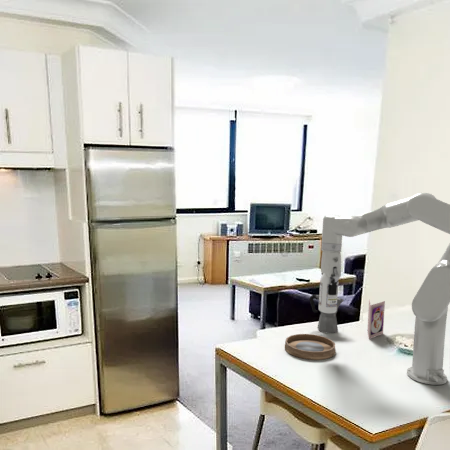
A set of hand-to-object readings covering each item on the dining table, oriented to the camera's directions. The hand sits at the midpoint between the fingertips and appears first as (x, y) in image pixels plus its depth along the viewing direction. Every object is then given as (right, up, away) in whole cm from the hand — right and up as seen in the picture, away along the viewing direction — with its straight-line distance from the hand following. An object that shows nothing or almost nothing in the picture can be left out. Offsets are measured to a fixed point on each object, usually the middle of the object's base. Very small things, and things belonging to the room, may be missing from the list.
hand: (328, 291), depth 164 cm
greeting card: (+24, -23, +23) cm, 41 cm away
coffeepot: (+6, -22, +29) cm, 37 cm away
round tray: (-6, -24, +4) cm, 25 cm away
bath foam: (0, -8, +1) cm, 8 cm away
